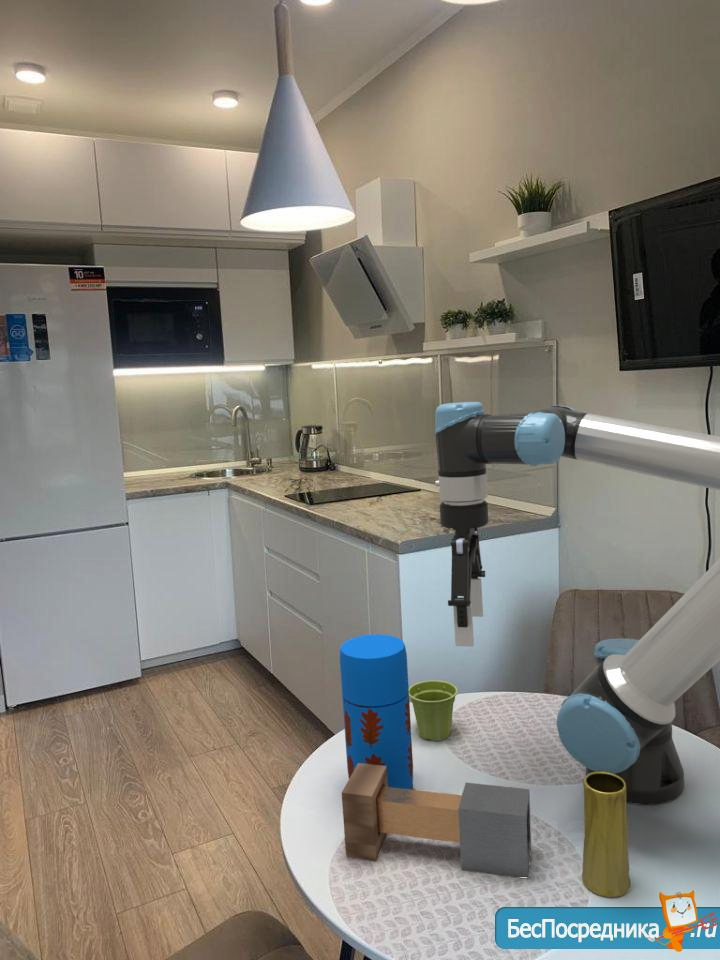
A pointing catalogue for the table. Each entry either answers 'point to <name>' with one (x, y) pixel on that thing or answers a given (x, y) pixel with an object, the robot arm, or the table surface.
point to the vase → (605, 835)
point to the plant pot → (433, 708)
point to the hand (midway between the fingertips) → (470, 630)
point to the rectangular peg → (418, 814)
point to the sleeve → (495, 830)
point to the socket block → (363, 811)
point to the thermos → (377, 706)
